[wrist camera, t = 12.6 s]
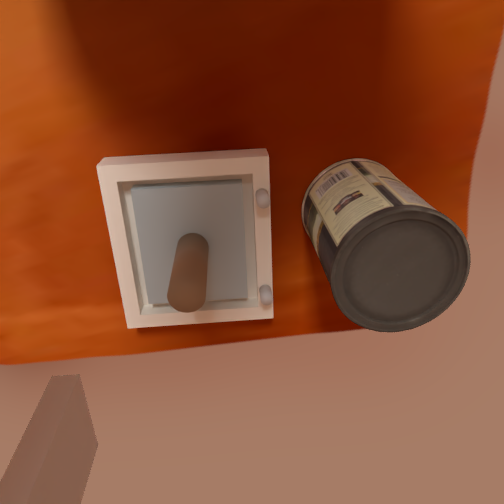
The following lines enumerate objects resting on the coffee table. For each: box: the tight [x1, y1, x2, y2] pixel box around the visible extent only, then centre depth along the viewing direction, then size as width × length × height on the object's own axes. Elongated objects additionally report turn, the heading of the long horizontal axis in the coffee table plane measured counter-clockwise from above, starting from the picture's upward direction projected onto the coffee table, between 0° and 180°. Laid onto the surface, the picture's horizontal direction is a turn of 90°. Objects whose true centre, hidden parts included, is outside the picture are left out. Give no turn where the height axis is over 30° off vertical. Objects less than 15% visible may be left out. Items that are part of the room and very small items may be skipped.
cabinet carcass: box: [96, 148, 273, 328], centre depth 44 cm, size 17×15×5 cm
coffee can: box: [302, 158, 470, 332], centre depth 40 cm, size 10×10×14 cm
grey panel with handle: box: [131, 179, 248, 313], centre depth 41 cm, size 12×10×11 cm
